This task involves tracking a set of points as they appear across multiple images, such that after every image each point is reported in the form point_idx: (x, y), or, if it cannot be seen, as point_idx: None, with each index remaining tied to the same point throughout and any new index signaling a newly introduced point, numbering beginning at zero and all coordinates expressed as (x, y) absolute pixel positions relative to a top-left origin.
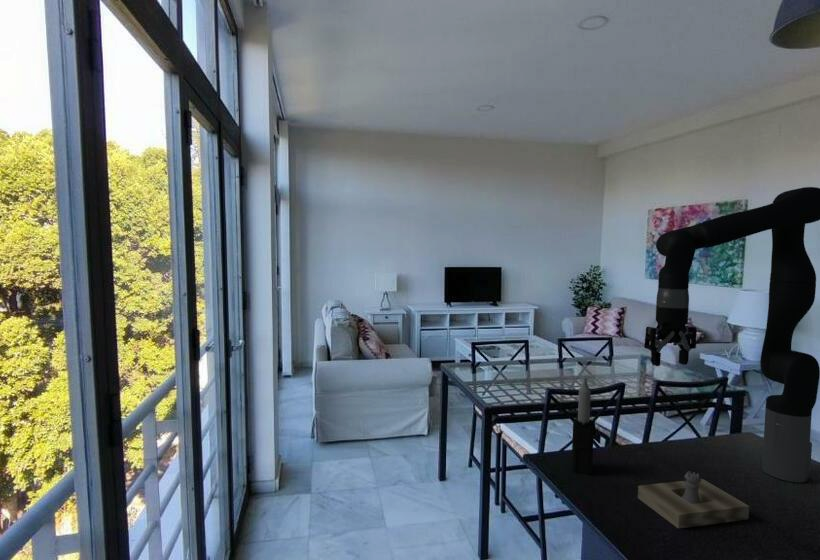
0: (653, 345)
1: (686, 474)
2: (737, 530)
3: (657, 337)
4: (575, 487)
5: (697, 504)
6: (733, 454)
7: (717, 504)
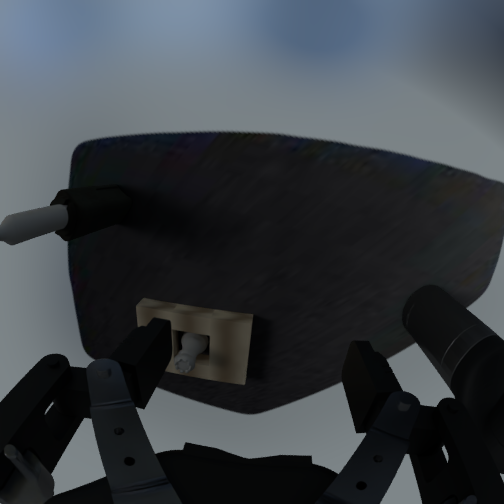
0: (67, 424)
1: (177, 359)
2: (212, 380)
3: (108, 455)
4: (84, 248)
5: None
6: (432, 236)
7: (207, 371)
